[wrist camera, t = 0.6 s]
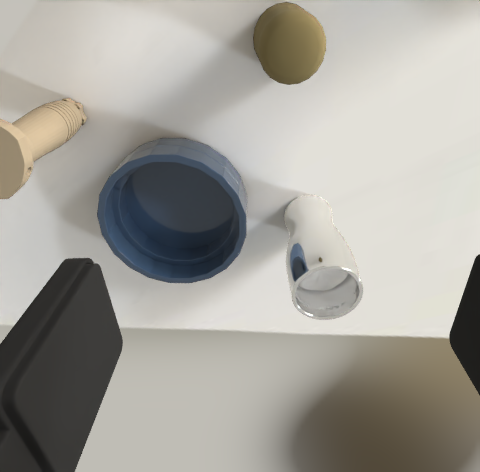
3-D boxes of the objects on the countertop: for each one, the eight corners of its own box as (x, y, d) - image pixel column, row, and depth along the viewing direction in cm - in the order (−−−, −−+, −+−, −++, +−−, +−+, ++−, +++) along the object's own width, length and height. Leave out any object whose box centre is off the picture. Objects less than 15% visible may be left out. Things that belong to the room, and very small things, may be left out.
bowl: (102, 136, 42) (81, 154, 37) (246, 136, 42) (245, 154, 37) (127, 254, 51) (114, 282, 46) (247, 255, 51) (246, 283, 46)
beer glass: (274, 233, 48) (280, 314, 36) (288, 185, 45) (301, 257, 32) (325, 243, 49) (349, 327, 36) (343, 197, 45) (377, 272, 33)
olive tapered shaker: (299, 80, 38) (313, 105, 29) (244, 59, 37) (241, 77, 28) (325, 16, 35) (350, 21, 26) (266, -9, 34) (270, -13, 25)
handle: (101, 95, 40) (29, 139, 27) (87, 147, 43) (17, 207, 30) (56, 74, 39) (-40, 108, 26) (46, 128, 42) (-45, 183, 29)
